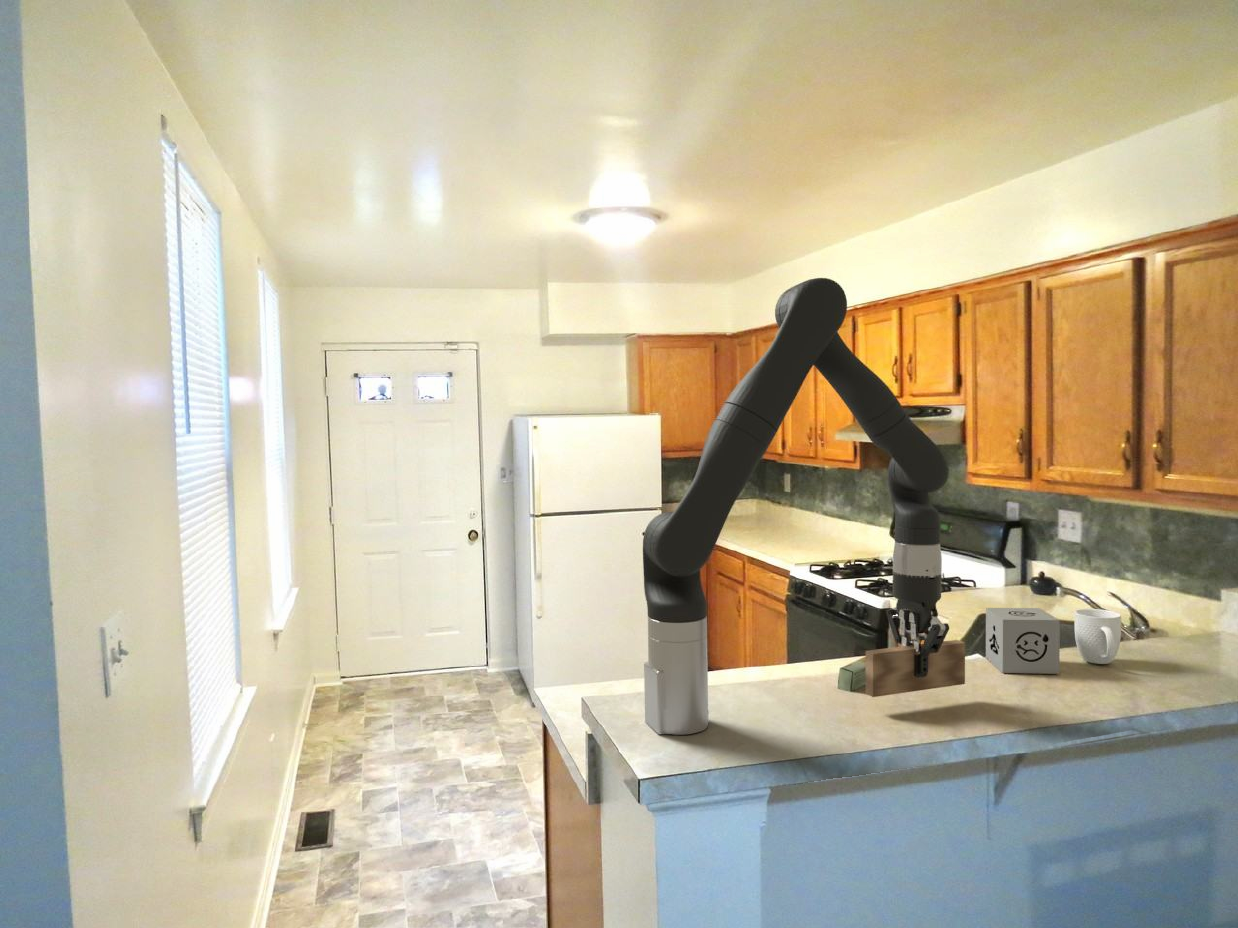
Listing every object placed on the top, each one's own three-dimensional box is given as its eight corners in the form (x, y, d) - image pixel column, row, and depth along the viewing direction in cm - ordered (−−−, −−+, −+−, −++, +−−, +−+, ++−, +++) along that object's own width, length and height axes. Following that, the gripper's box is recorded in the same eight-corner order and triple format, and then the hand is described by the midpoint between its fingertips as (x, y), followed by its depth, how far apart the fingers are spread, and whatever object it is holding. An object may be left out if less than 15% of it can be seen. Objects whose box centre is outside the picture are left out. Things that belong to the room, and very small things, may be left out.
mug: (1134, 671, 156) (1135, 621, 156) (1088, 670, 158) (1089, 620, 157) (1110, 655, 167) (1110, 608, 166) (1067, 654, 168) (1068, 608, 168)
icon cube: (1038, 658, 166) (1039, 608, 165) (1059, 673, 156) (1059, 620, 155) (985, 657, 167) (985, 607, 167) (1002, 672, 157) (1002, 619, 157)
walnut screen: (872, 697, 135) (872, 654, 135) (865, 693, 137) (865, 650, 137) (964, 683, 141) (965, 642, 141) (956, 680, 143) (956, 639, 143)
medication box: (850, 694, 148) (852, 672, 147) (836, 689, 149) (838, 667, 149) (883, 676, 156) (885, 655, 155) (870, 672, 158) (871, 651, 157)
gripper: (872, 564, 144) (871, 665, 144) (925, 578, 131) (924, 689, 131) (909, 562, 146) (908, 661, 147) (965, 575, 133) (963, 684, 134)
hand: (915, 674), depth 139 cm, fingers closed on walnut screen, 2 cm apart
